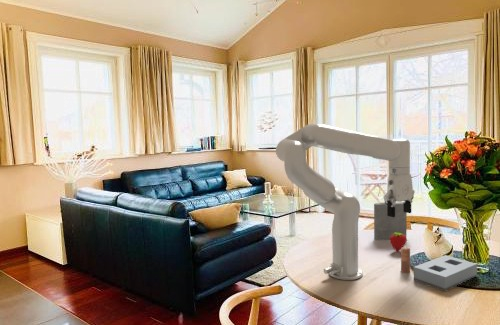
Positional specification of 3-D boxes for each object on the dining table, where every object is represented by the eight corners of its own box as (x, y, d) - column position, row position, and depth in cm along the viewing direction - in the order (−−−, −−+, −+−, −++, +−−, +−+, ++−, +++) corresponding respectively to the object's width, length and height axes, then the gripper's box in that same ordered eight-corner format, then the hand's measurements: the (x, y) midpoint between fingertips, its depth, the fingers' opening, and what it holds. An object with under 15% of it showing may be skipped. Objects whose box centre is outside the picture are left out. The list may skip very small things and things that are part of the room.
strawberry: (409, 252, 172) (409, 230, 171) (393, 254, 170) (393, 231, 169) (402, 248, 178) (402, 226, 176) (386, 250, 176) (386, 228, 175)
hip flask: (404, 236, 195) (404, 196, 193) (408, 238, 191) (408, 198, 189) (373, 238, 194) (373, 198, 192) (376, 240, 190) (376, 200, 188)
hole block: (445, 291, 133) (445, 277, 132) (413, 280, 143) (413, 266, 142) (476, 277, 144) (477, 263, 143) (445, 267, 154) (445, 255, 153)
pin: (406, 273, 149) (406, 250, 148) (399, 270, 152) (399, 248, 151) (411, 271, 151) (411, 248, 150) (404, 269, 154) (404, 246, 153)
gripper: (392, 174, 144) (393, 220, 146) (421, 169, 153) (421, 212, 155) (376, 172, 150) (376, 216, 152) (405, 168, 159) (405, 209, 161)
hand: (399, 214), depth 153 cm, fingers open, 9 cm apart
